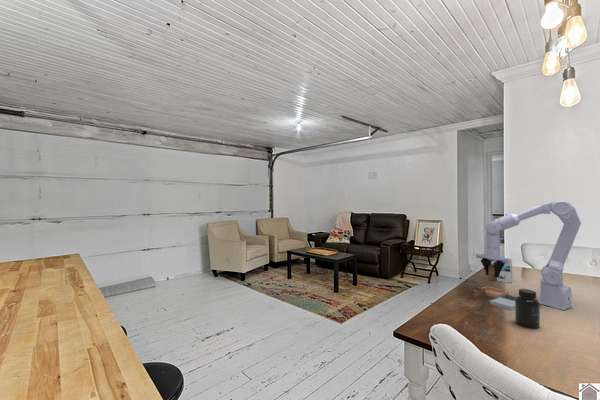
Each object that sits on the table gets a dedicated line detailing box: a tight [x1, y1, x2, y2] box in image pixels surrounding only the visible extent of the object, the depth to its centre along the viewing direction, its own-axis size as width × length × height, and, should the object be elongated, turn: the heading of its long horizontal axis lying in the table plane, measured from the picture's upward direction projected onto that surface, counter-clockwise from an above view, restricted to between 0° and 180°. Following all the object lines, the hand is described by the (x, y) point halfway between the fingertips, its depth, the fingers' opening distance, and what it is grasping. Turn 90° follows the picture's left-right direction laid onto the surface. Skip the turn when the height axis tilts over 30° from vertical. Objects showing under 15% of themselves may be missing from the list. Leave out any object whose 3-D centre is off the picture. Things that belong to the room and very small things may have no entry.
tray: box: [482, 285, 510, 299], centre depth 132 cm, size 9×9×2 cm
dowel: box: [487, 264, 498, 283], centre depth 132 cm, size 3×3×7 cm
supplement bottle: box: [514, 288, 541, 329], centre depth 101 cm, size 7×7×12 cm
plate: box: [489, 297, 515, 311], centre depth 119 cm, size 8×8×2 cm
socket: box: [497, 294, 517, 301], centre depth 124 cm, size 7×7×1 cm
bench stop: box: [470, 286, 486, 300], centre depth 128 cm, size 2×8×4 cm, turn 119°
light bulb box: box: [496, 259, 513, 284], centre depth 155 cm, size 11×7×11 cm, turn 143°
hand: (492, 276), depth 132 cm, fingers closed on dowel, 3 cm apart
